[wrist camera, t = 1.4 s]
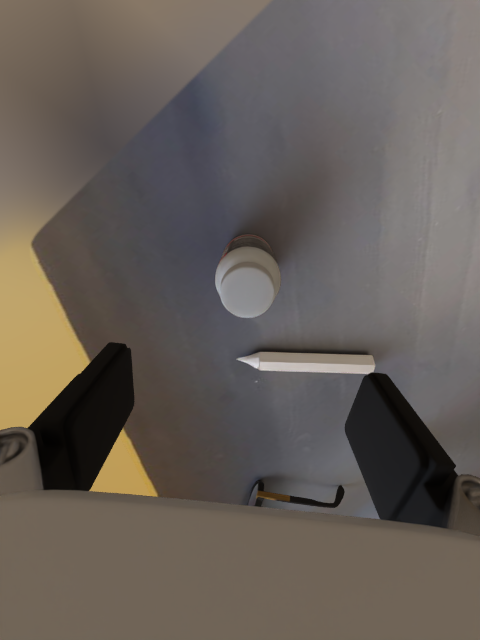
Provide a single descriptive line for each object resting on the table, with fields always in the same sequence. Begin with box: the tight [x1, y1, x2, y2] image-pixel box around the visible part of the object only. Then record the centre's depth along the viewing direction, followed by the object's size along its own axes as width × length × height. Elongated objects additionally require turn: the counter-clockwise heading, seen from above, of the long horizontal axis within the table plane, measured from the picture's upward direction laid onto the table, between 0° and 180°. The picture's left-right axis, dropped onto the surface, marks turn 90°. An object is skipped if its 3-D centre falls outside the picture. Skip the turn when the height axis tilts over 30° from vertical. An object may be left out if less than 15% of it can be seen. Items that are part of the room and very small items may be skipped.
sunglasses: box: [248, 481, 344, 508], centre depth 44 cm, size 14×15×5 cm
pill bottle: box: [215, 234, 281, 318], centre depth 24 cm, size 5×5×10 cm
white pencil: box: [237, 352, 375, 374], centre depth 32 cm, size 3×2×16 cm
